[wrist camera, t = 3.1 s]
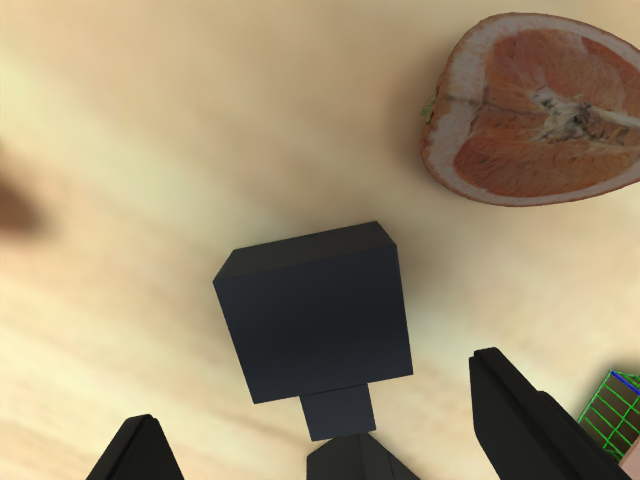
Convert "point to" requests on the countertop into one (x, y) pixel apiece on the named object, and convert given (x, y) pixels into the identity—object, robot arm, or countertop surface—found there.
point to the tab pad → (319, 322)
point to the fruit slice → (535, 113)
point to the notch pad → (355, 461)
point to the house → (636, 460)
